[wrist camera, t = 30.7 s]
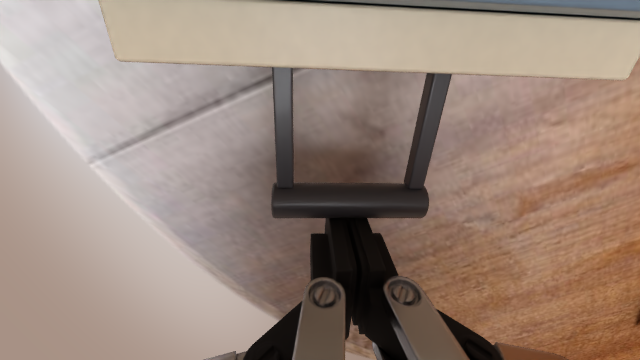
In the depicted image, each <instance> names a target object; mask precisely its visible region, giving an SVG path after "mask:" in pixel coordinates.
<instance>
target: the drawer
mask: <svg viewBox="0 0 640 360" xmlns="http://www.w3.org/2000/svg"><path fill="white" fill-rule="evenodd" d="M99 4H100V7H101V10H102V14H103V17H104V21H105V24H106V27H107V31H108V34H109V38H110V41H111V45H112V48H113V51H114V55H115V58H116V59H117V60H119V61H121V62H147V63H173V64H200V65H226V66H253V67H272V75H273V99H274V122H275V146H276V169H277V183H274V184H273V187H272V200H271V206H272V215H273V218H423V217H424V216H425V215H426V214H427V211H428V207H429V197H428V192H427V190H426V188H425V186H424V182H425V178H426V174H427V170H428V166H429V162H430V158H431V154H432V151H433V147H434V143H435V139H436V135H437V131H438V127H439V123H440V119H441V115H442V111H443V107H444V103H445V99H446V95H447V91H448V87H449V83H450V79H451V75H452V74H465V75H491V76H517V77H544V78H570V79H597V80H625V79H627V78H628V77H629V75H630V73H631V71H632V69H633V67H634V66H635V64H636V62H637V60H638V58H639V56H640V20H629V19H611V18H593V17H575V16H556V15H538V14H520V13H502V12H484V11H466V10H447V9H429V8H411V7H393V6H375V5H357V4H338V3H320V2H302V1H284V0H99ZM293 68H306V69H332V70H359V71H385V72H412V73H427V75H426V79H425V84H424V89H423V94H422V98H421V103H420V108H419V113H418V117H417V122H416V127H415V132H414V136H413V141H412V146H411V150H410V155H409V160H408V165H407V169H406V174H405V179H404V183H405V184H392V183H294V143H293Z"/></svg>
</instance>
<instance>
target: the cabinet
mask: <svg viewBox="0 0 640 360" xmlns="http://www.w3.org/2000/svg"><path fill="white" fill-rule="evenodd" d="M284 1H302V2H320V3H338V4H357V5H375V6H393V7H411V8H429V9H447V10H466V11H484V12H502V13H520V14H538V15H556V16H575V17H593V18H611V19H629V20H640V0H284Z"/></svg>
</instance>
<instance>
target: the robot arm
mask: <svg viewBox="0 0 640 360" xmlns="http://www.w3.org/2000/svg"><path fill="white" fill-rule="evenodd" d="M310 267H311V281H310V282H309V283H308V285H307V286H306V288H305V291H304V296H303V301H301V302H300V303H299V304H298V305H297V306H296V307H295V308H293V309H292V310H291V311H290V312H289V313H288V314H287V315H286V316H284V317H283V318H282V319H281V320H280V321H279V322H278V323H277V324H275V325H274V326H273V327H272V328H271V329H270V330H269V331H267V332H266V333H265V334H264V335H263V336H262V337H261V338H260V339H258V340H257V341H256V342H255V343H254V344H253V345H252V346H251V347H250V348H249V349H248V351H246V352H242V353H239V354H236V351H234V352H230V353H227V354H223V355H219V356H216V357H212V358H209V359H205V360H345V340H346V339H347V338H348V336H349V330H350V323H351V316H352V321H353V325H358V329H359V334H365V336H366V337H368V338H369V339H370V340H371V341H372V346H373V350H374V353H375V356H376V358H377V360H568V359H566V358H565V357H563V356H560V355H557V354H554V353H549V352H544V351H539V350H534V349H529V348H524V347H519V346H514V345H509V344H503V343H498V342H496V343H495V344H494V345H492V344H491V343H490V342H488V341H487V340H486V339H484V338H483V337H481V336H480V335H478V334H477V333H475V332H473V331H472V330H470V329H468V328H467V327H465V326H463V325H462V324H460V323H459V322H457V321H455V320H454V319H452V318H450V317H449V316H447V315H446V314H444V313H442V312H441V311H439V310H437V309H436V308H435V307H434V305H433V304H432V302H431V301H430V300H429V298H428V297H427V295H426V294H425V292H424V291H423V289H422V288H421V287H420V286H419V284H417V283H416V282H415V281H413V280H412V279H409V278H407V277H403V276H398V273H397V271H396V268H395V266H394V264H393V261H392V259H391V256H390V254H389V252H388V249H387V247H386V244H385V242H384V240H383V237H382V235H381V234H380V233H372V230H371V227H370V225H369V222H368V219H367V218H326V221H325V234H311V244H310Z"/></svg>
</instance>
